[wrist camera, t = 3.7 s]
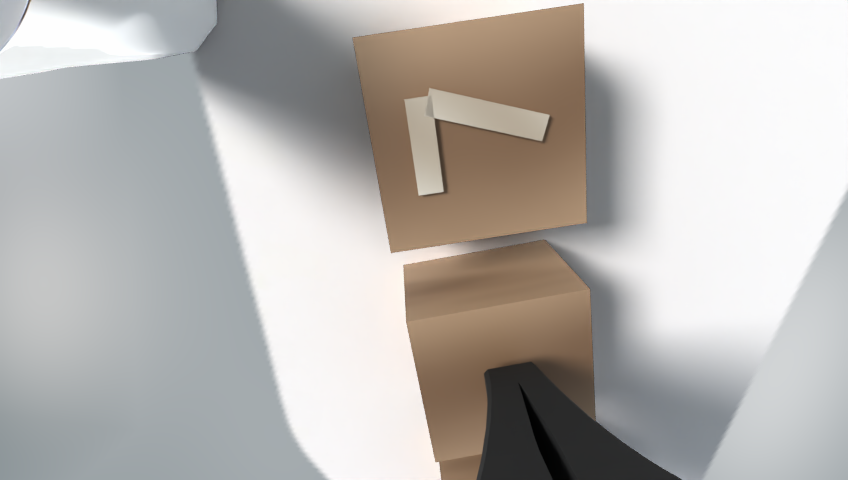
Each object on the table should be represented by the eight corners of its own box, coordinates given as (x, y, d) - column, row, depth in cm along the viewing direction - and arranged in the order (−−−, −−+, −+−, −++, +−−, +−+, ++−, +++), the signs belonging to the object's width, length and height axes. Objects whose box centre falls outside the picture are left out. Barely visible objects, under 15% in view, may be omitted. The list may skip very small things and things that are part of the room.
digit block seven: (538, 186, 15) (589, 224, 11) (391, 208, 15) (390, 255, 11) (530, 23, 13) (586, 1, 10) (364, 48, 13) (351, 36, 9)
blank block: (553, 356, 18) (596, 433, 14) (426, 379, 18) (435, 462, 14) (543, 238, 16) (589, 288, 12) (403, 263, 16) (406, 321, 12)
